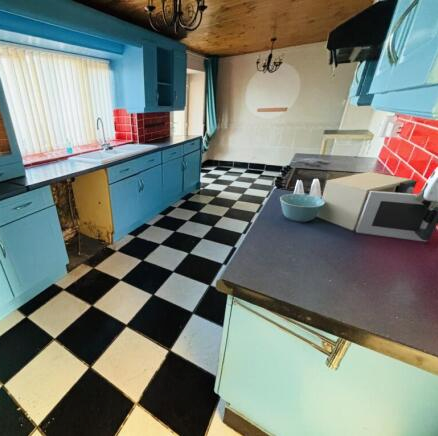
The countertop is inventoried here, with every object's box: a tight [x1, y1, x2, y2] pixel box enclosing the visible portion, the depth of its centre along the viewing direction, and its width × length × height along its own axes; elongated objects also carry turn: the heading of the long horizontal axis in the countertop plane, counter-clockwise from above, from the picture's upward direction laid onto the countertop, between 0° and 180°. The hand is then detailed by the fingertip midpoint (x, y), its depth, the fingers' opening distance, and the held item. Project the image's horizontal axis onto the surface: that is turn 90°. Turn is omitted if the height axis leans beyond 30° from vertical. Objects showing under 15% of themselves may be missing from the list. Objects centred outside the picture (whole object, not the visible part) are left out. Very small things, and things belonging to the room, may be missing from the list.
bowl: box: [279, 193, 325, 223], centre depth 99 cm, size 16×16×8 cm
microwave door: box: [355, 191, 438, 243], centre depth 78 cm, size 7×19×16 cm, turn 63°
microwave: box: [316, 171, 418, 231], centre depth 94 cm, size 16×26×16 cm, turn 110°
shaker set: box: [293, 178, 322, 199], centre depth 116 cm, size 12×4×11 cm, turn 60°
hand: (432, 221), depth 73 cm, fingers closed, pressing on microwave door
